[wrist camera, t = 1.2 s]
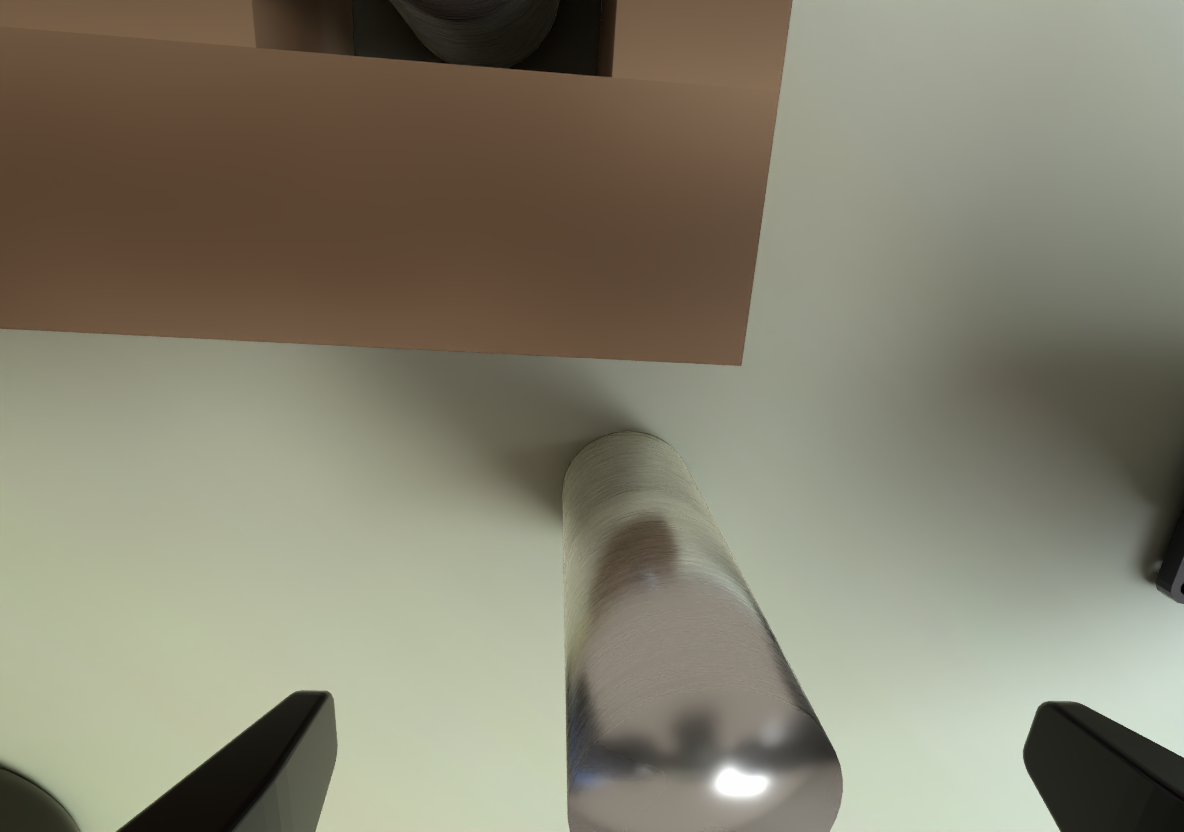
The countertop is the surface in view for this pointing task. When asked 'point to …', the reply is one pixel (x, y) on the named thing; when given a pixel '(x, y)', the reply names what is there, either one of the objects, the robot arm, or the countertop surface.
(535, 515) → the countertop surface
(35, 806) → the supplement bottle
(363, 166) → the hole block
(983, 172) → the countertop surface
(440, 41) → the short grey peg
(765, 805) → the steel pin
